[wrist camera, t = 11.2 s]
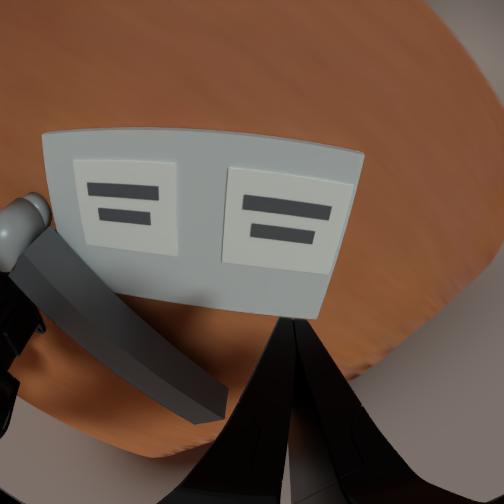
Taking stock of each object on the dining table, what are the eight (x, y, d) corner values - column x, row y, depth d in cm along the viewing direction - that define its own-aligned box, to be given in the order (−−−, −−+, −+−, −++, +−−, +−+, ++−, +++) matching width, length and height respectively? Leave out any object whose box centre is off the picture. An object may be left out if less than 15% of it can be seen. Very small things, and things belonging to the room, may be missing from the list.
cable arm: (5, 215, 14) (-26, 242, 11) (20, 188, 13) (-15, 214, 10) (199, 395, 22) (193, 428, 20) (228, 388, 21) (223, 423, 19)
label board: (41, 271, 18) (35, 278, 17) (11, 136, 12) (2, 140, 12) (315, 312, 18) (317, 322, 17) (361, 151, 12) (366, 156, 12)
